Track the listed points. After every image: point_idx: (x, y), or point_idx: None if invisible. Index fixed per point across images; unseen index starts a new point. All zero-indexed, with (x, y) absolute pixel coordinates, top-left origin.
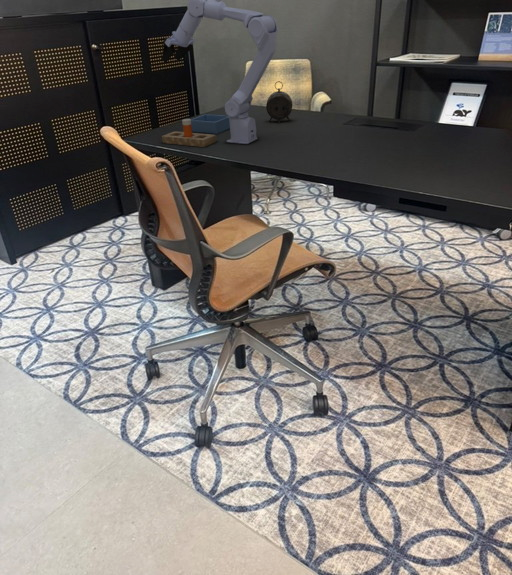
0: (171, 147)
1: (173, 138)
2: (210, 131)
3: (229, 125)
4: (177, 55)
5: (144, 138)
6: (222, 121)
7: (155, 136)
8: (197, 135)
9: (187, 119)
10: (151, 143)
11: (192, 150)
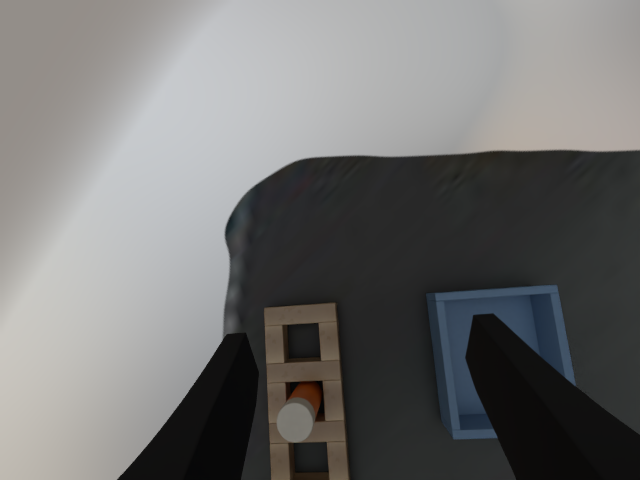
0: None
1: (267, 360)
2: (439, 393)
3: None
4: (491, 372)
5: (291, 204)
6: None
7: (325, 220)
8: (317, 438)
9: (300, 424)
10: (252, 274)
11: None
